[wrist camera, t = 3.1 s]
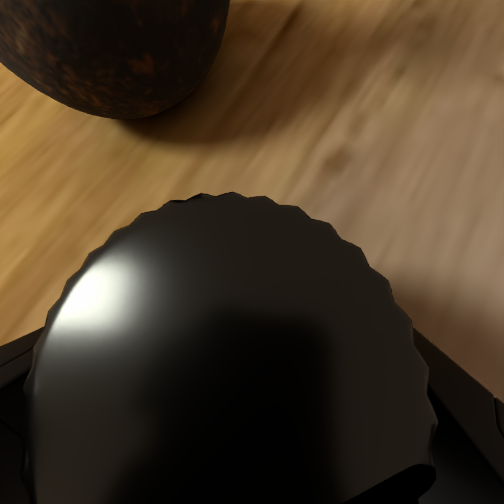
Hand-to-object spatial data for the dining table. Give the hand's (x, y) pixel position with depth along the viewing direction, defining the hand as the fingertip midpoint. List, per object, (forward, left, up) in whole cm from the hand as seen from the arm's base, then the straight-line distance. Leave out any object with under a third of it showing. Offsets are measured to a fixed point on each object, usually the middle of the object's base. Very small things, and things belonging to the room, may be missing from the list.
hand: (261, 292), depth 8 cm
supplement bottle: (-1, +1, -7) cm, 7 cm away
